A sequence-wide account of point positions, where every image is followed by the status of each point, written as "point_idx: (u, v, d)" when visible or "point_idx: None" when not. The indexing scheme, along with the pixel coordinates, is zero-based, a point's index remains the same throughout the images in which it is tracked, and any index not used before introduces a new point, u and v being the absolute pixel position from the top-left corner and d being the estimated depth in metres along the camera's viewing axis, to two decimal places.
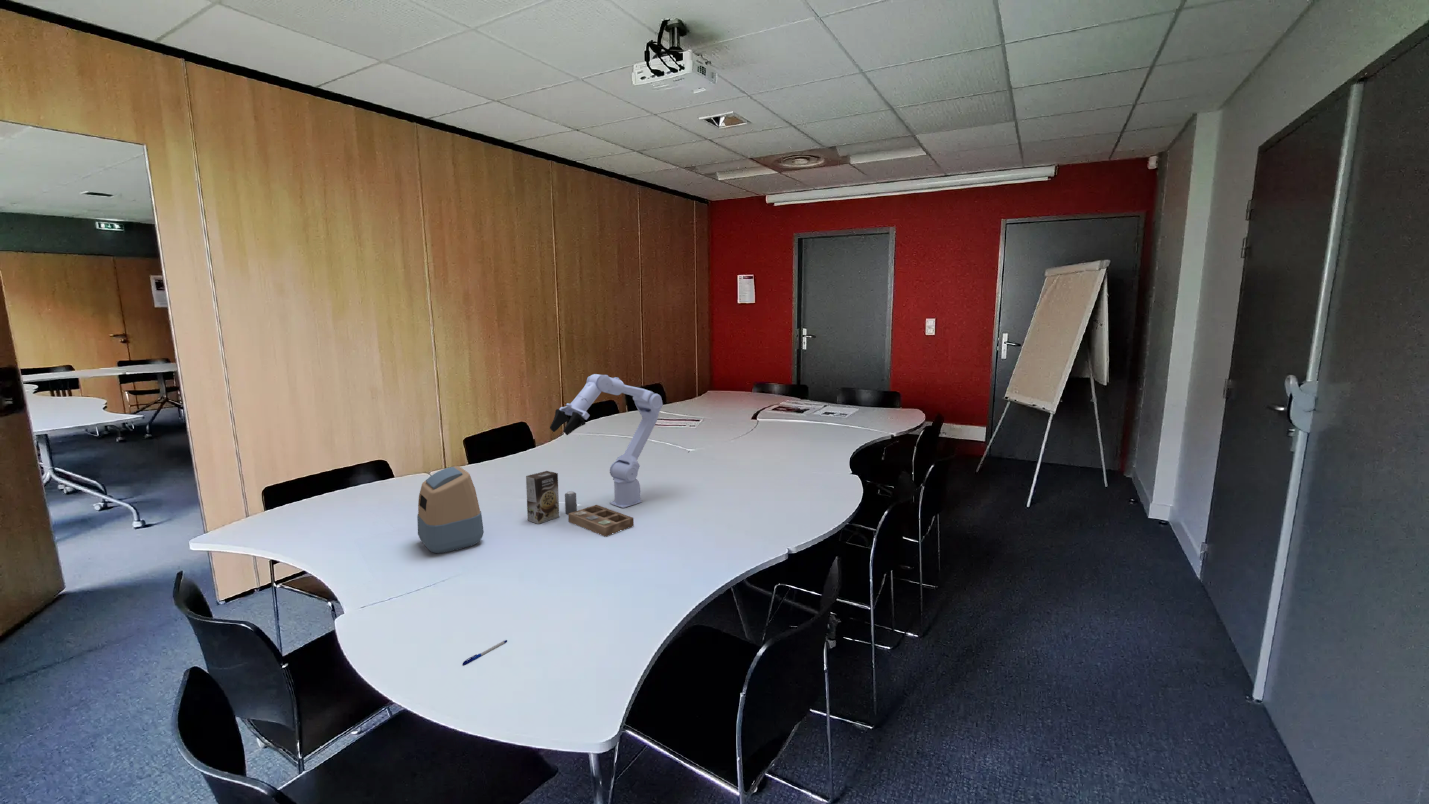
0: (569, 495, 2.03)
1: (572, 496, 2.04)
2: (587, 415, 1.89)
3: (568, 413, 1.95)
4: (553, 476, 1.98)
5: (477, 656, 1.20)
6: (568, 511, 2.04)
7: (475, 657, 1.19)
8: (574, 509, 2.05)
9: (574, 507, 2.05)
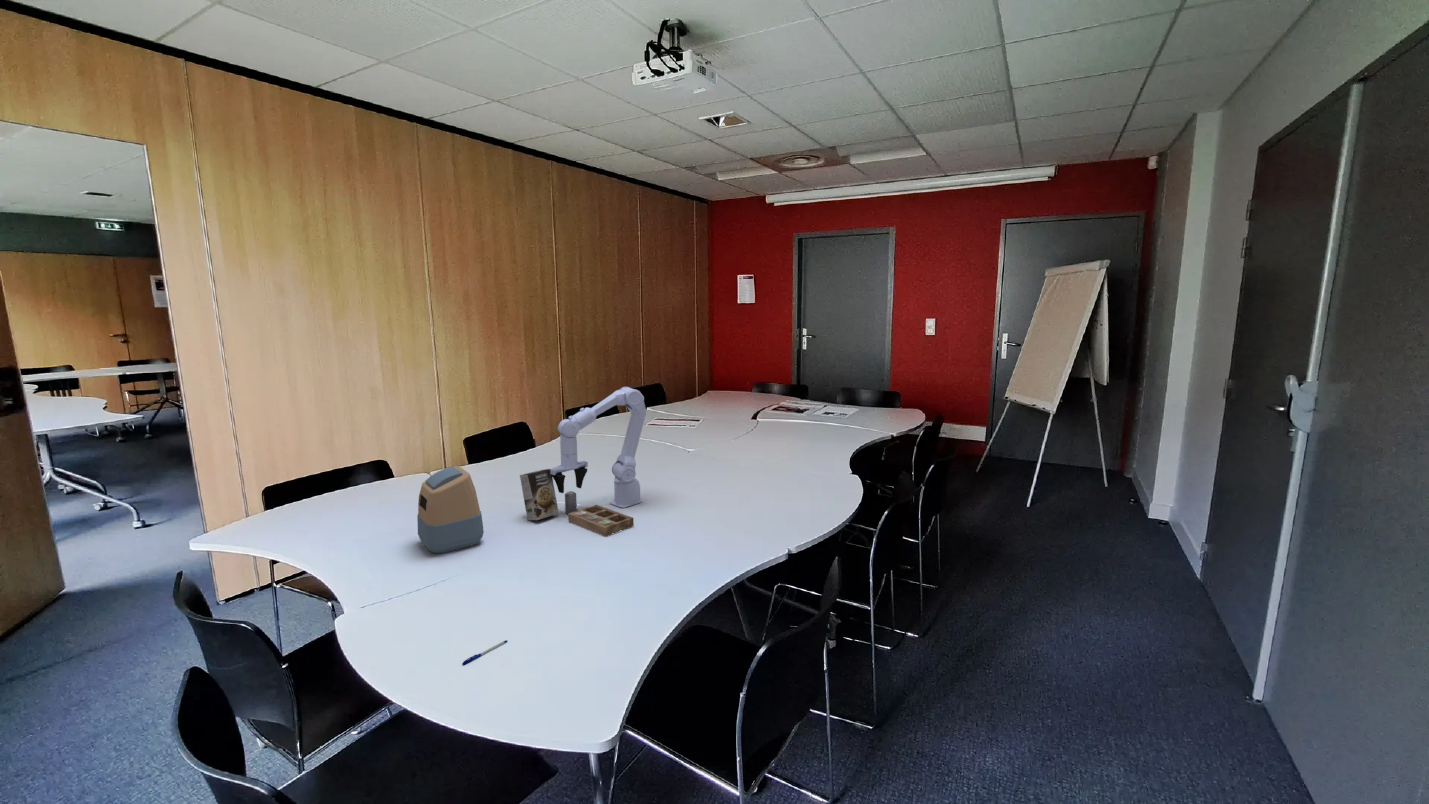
0: (569, 495, 2.03)
1: (572, 496, 2.04)
2: (552, 471, 1.98)
3: None
4: (546, 471, 2.00)
5: (477, 656, 1.20)
6: (568, 511, 2.04)
7: (475, 657, 1.19)
8: (574, 509, 2.05)
9: (574, 507, 2.05)
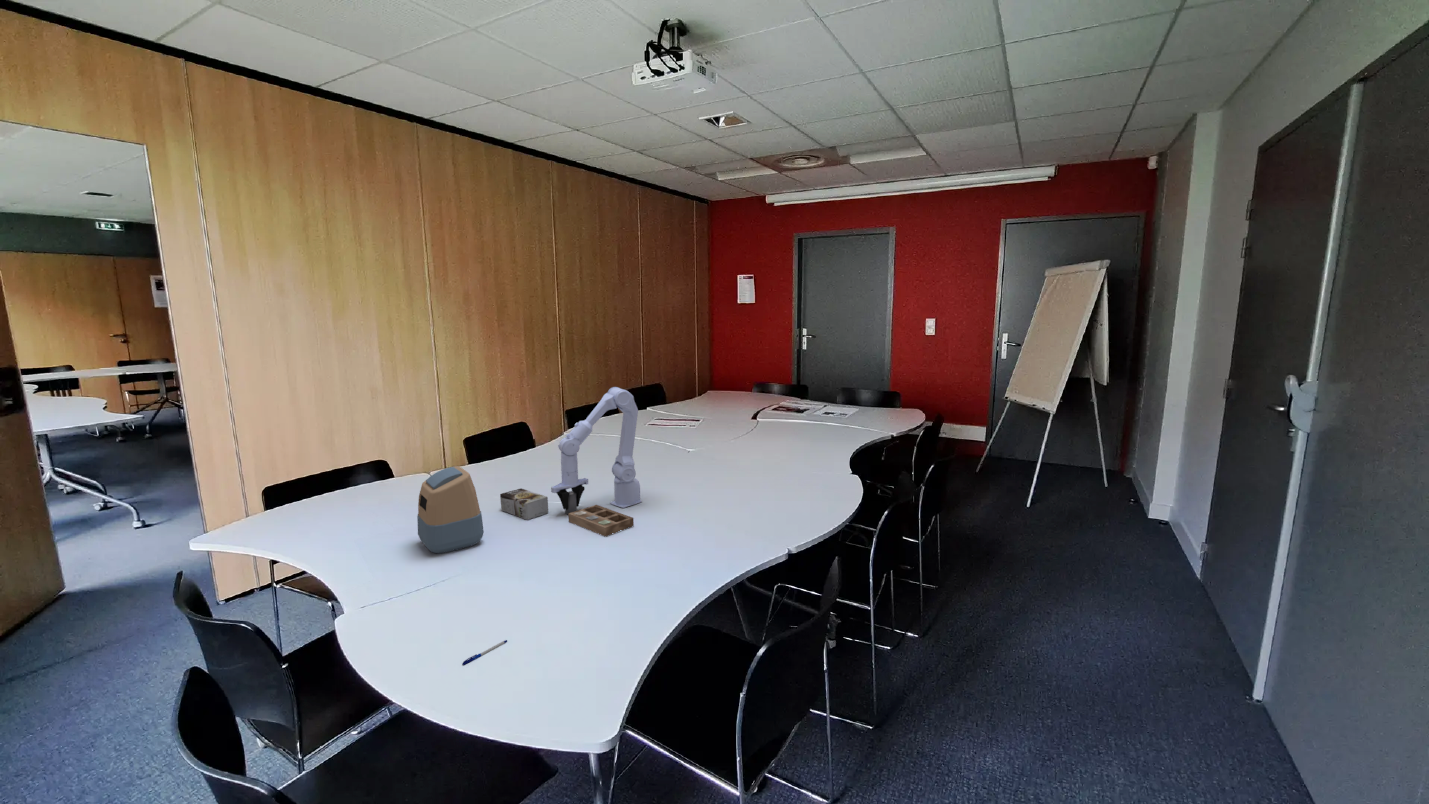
0: (569, 495, 2.03)
1: (572, 496, 2.04)
2: (553, 489, 1.99)
3: None
4: (517, 489, 2.12)
5: (477, 656, 1.20)
6: (568, 511, 2.04)
7: (475, 657, 1.19)
8: (574, 509, 2.05)
9: (574, 507, 2.05)
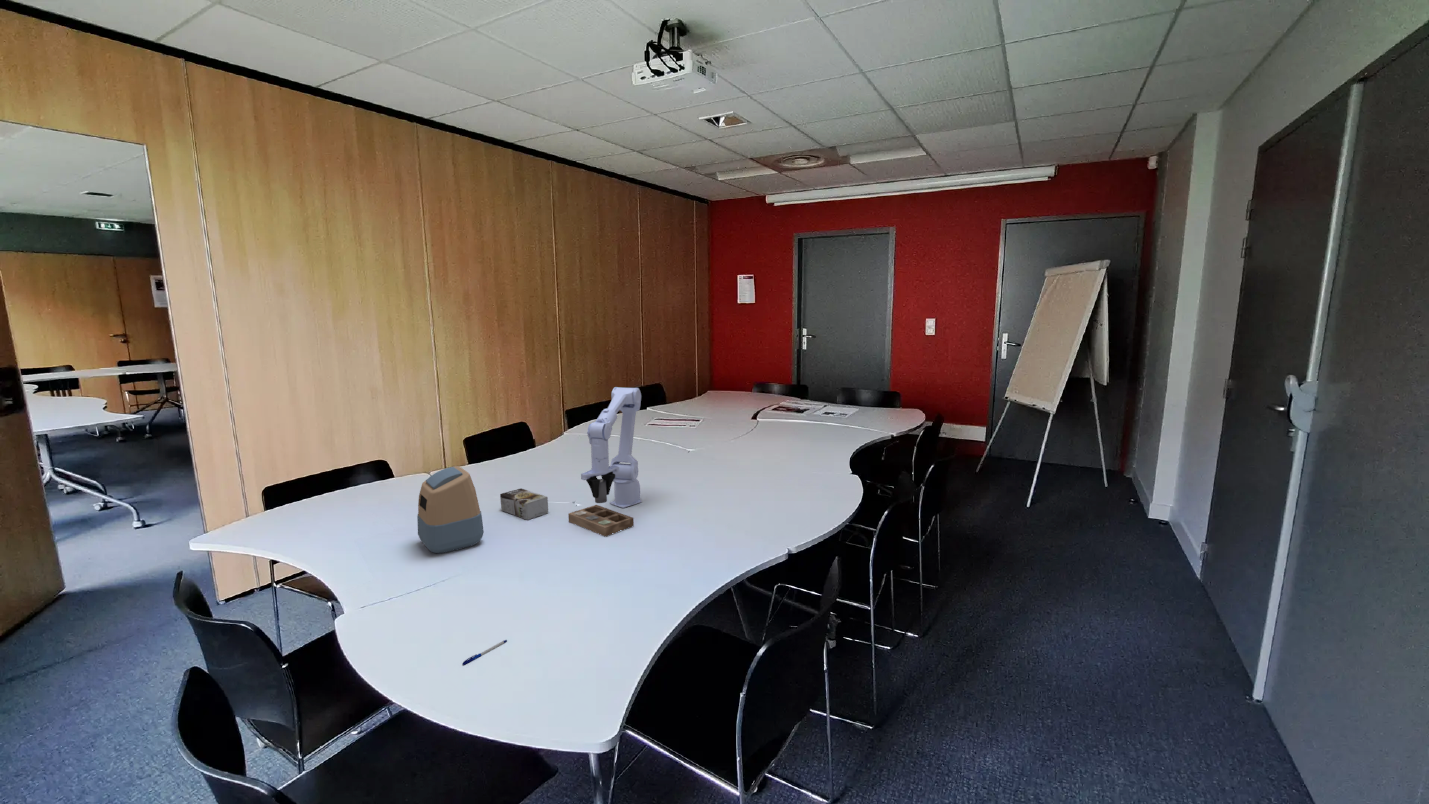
0: None
1: (602, 483, 1.93)
2: (583, 476, 1.89)
3: None
4: (517, 489, 2.12)
5: (477, 656, 1.20)
6: (598, 499, 1.94)
7: (475, 657, 1.19)
8: (604, 497, 1.94)
9: (604, 495, 1.94)
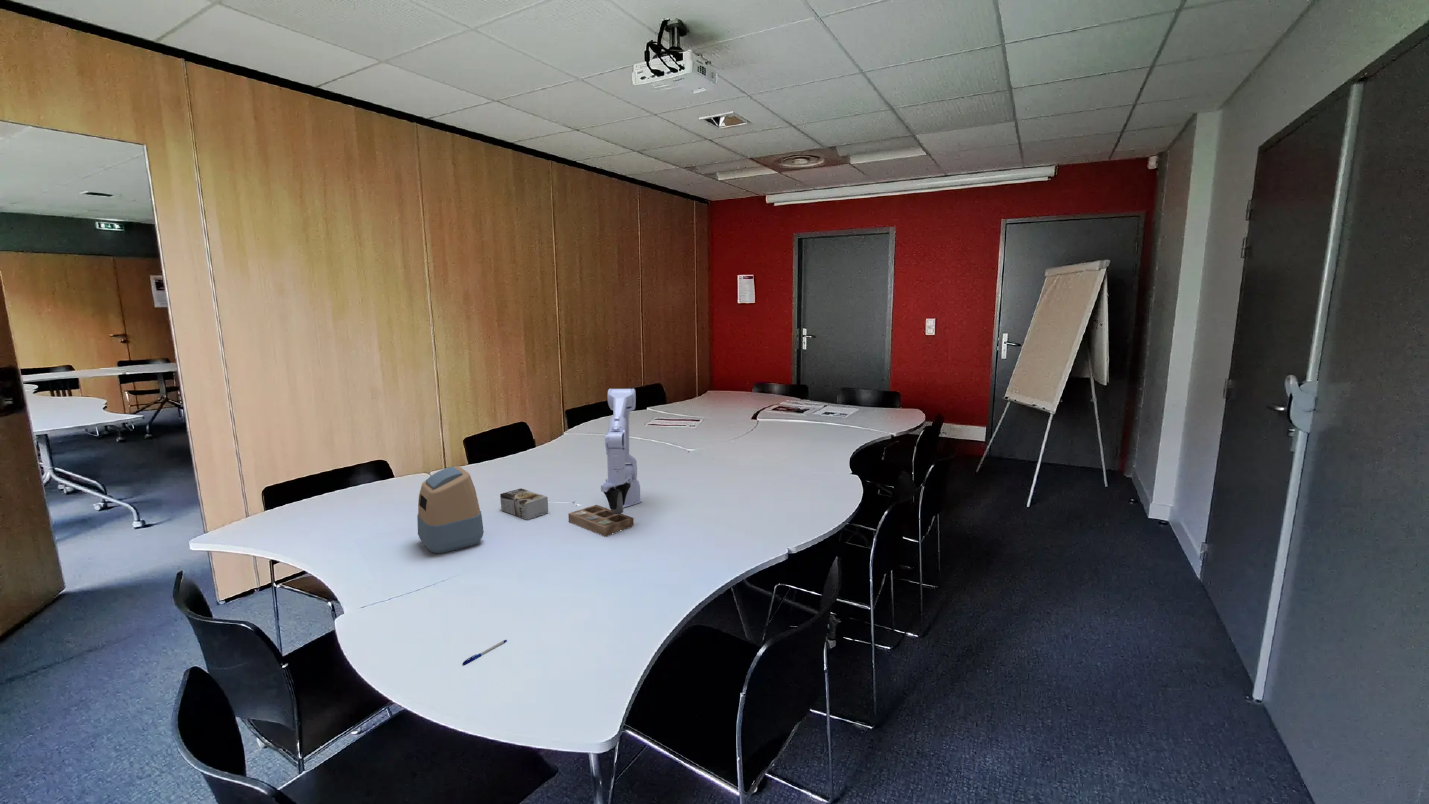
0: None
1: (619, 494, 1.90)
2: (603, 488, 1.84)
3: None
4: (517, 489, 2.12)
5: (477, 656, 1.20)
6: (616, 511, 1.90)
7: (475, 657, 1.20)
8: (621, 508, 1.91)
9: (621, 506, 1.91)
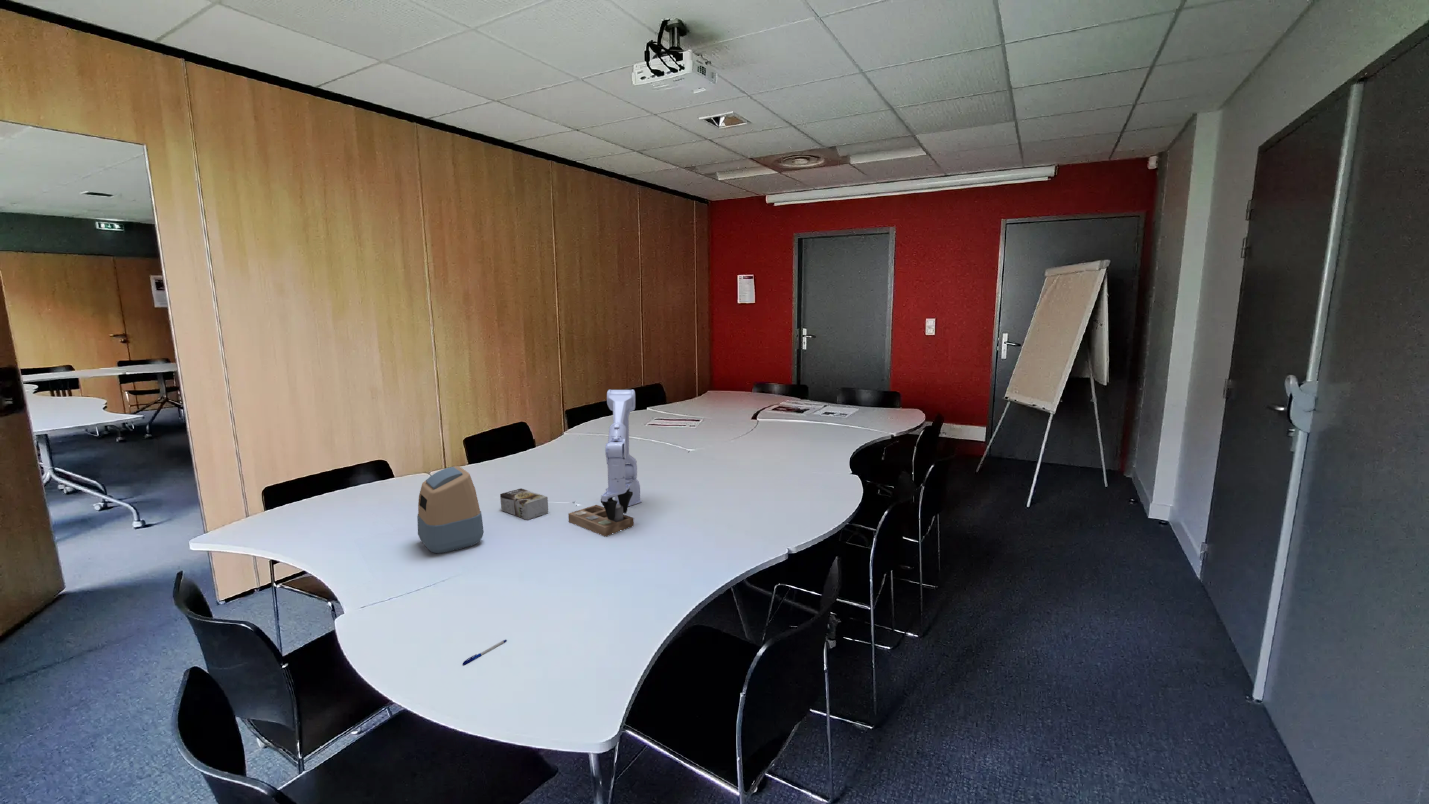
0: (617, 508, 1.90)
1: (620, 509, 1.90)
2: (603, 497, 1.84)
3: None
4: (517, 489, 2.12)
5: (477, 656, 1.20)
6: None
7: (475, 657, 1.20)
8: None
9: None
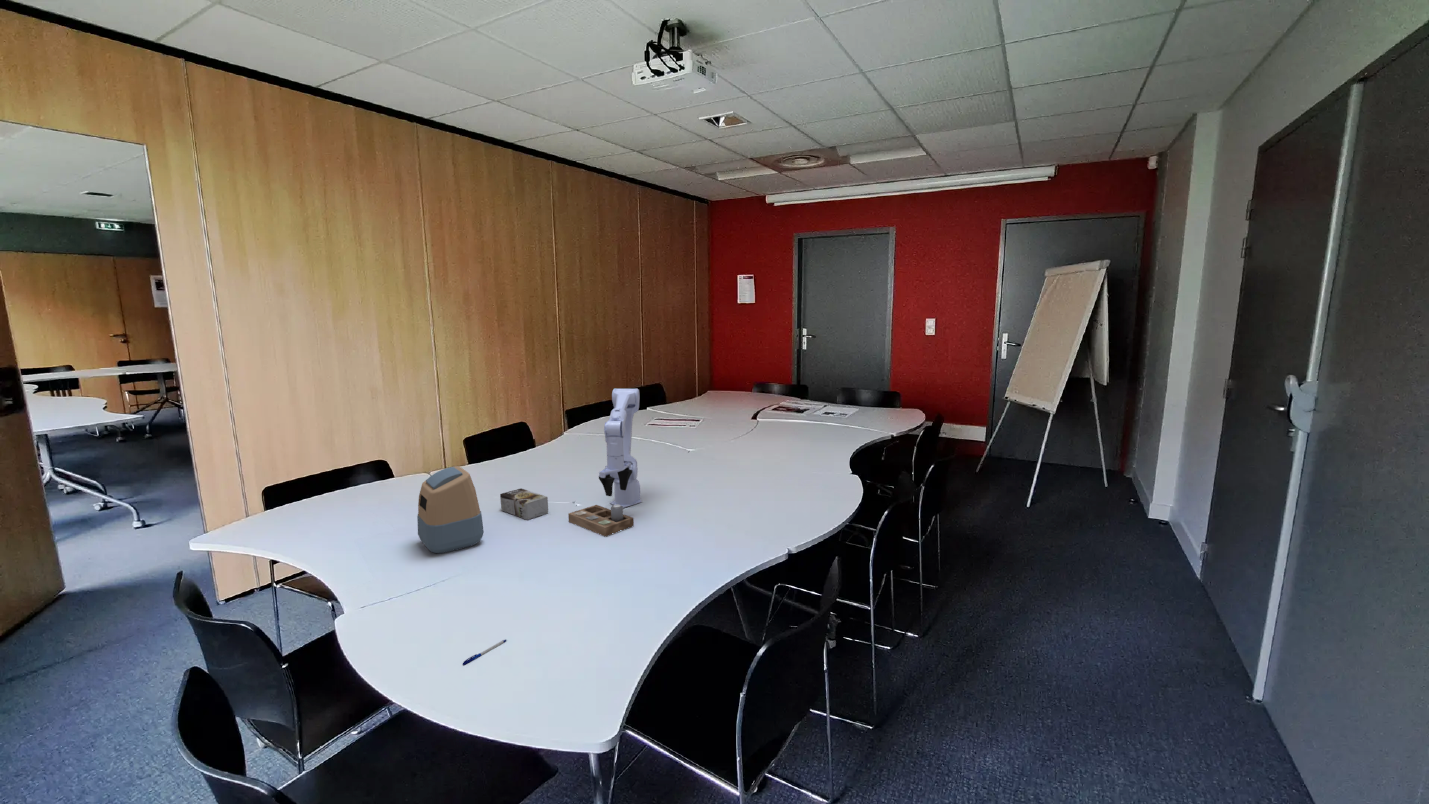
0: (617, 508, 1.90)
1: (620, 509, 1.90)
2: (601, 474, 1.91)
3: None
4: (517, 489, 2.12)
5: (477, 656, 1.20)
6: None
7: (475, 657, 1.20)
8: None
9: None
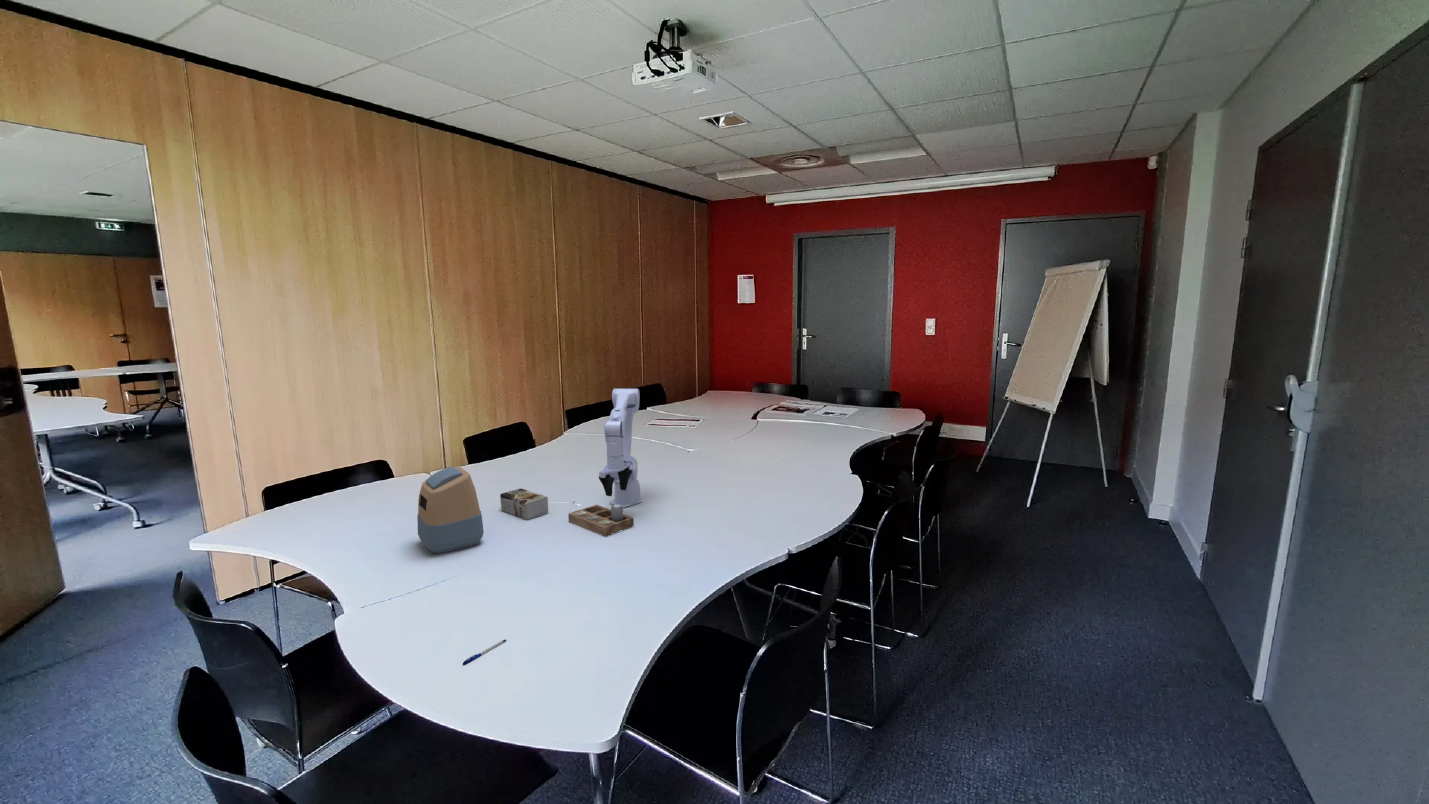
0: (617, 508, 1.90)
1: (620, 509, 1.90)
2: (601, 474, 1.91)
3: None
4: (517, 489, 2.12)
5: (477, 656, 1.20)
6: None
7: (475, 657, 1.20)
8: None
9: None
